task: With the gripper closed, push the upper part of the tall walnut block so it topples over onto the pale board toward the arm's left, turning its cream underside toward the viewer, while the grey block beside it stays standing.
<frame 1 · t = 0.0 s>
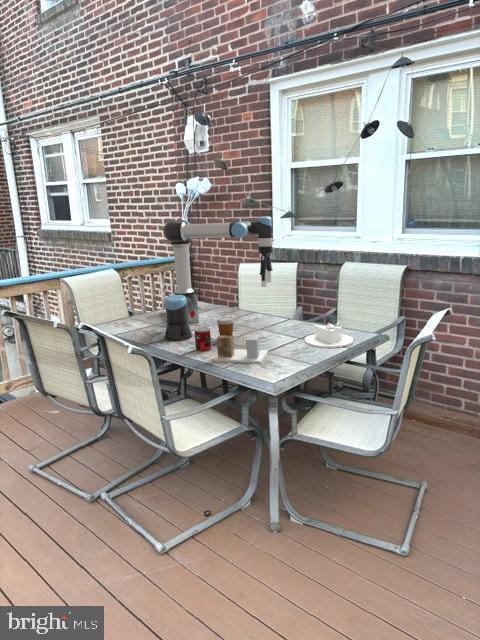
hand: (266, 284, 256), 28 cm above the table, tool pointing down, fingers open, 13 cm apart
grey block: (253, 356, 221), point 1 cm above the table, touching board
walnut block: (226, 356, 222), point 1 cm above the table, touching board
board: (240, 356, 225), on the table
canned food: (203, 349, 239), on the table
soda pack: (183, 318, 310), on the table
dish: (328, 341, 243), on the table
disposable coffee cup: (226, 340, 254), on the table
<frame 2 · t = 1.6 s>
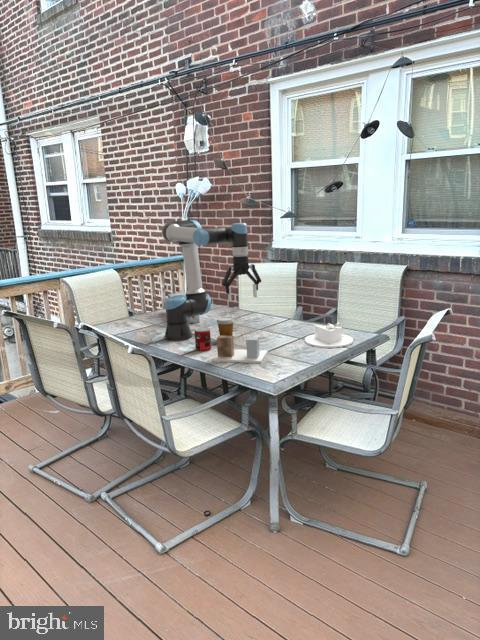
hand: (242, 298, 230), 26 cm above the table, tool pointing down, fingers open, 13 cm apart
nothing on the table moved.
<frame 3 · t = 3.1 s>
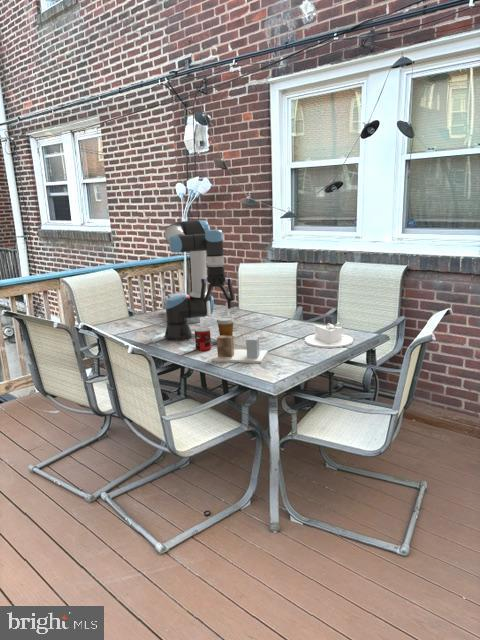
hand: (218, 315, 209), 23 cm above the table, tool pointing down, fingers open, 8 cm apart
nothing on the table moved.
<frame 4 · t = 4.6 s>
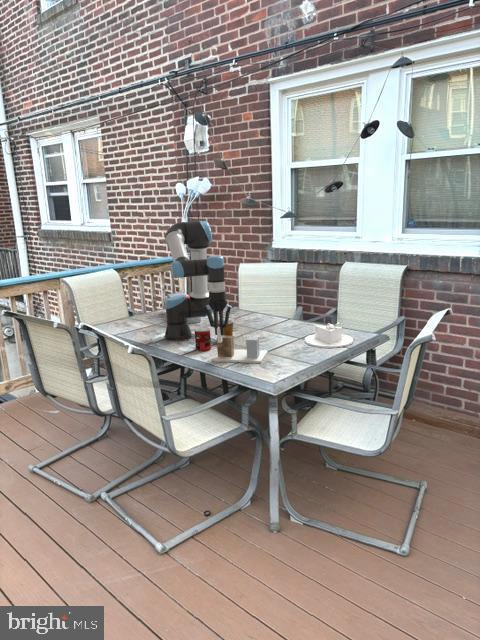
hand: (220, 341, 212), 11 cm above the table, tool pointing down, fingers closed
nothing on the table moved.
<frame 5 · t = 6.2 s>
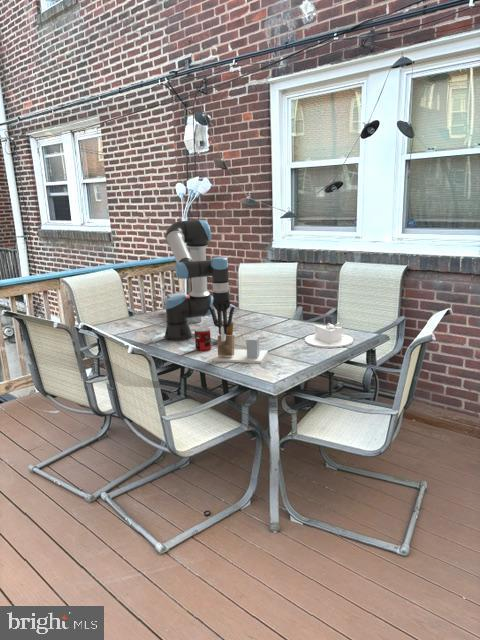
hand: (223, 340, 218), 10 cm above the table, tool pointing down, fingers closed
walnut block: (226, 356, 222), point 1 cm above the table, tilted 10°, touching board
everything else where it was.
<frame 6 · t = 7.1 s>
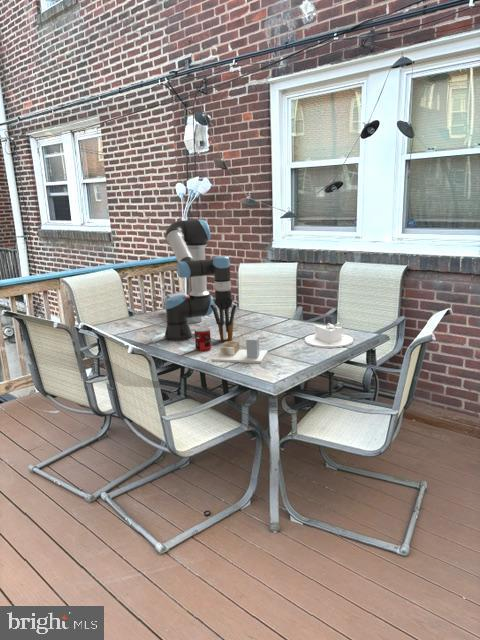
hand: (225, 338, 221), 10 cm above the table, tool pointing down, fingers closed
walnut block: (227, 351, 224), point 3 cm above the table, tilted 90°, touching board
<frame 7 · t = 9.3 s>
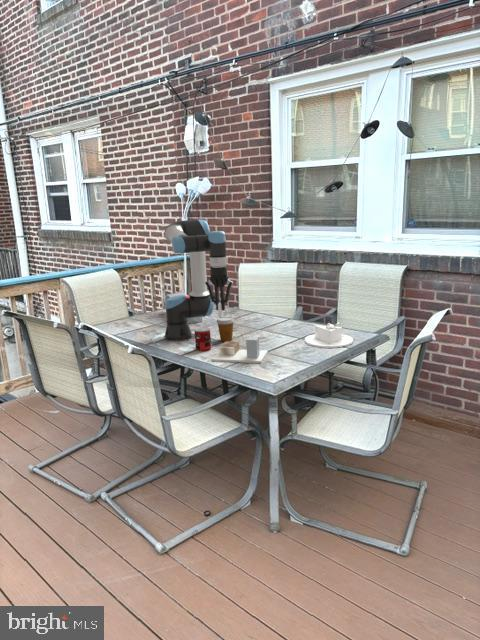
hand: (221, 316, 214), 22 cm above the table, tool pointing down, fingers closed
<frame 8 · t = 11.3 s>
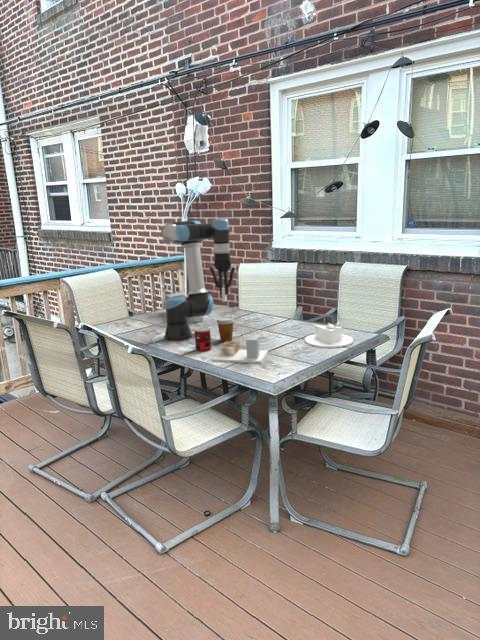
hand: (224, 301, 225), 26 cm above the table, tool pointing down, fingers closed
at the end: walnut block tilted 90°; walnut block inside the target area (1.0 cm from its centre), point 3.0 cm above the table; grey block tilted 0° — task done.
